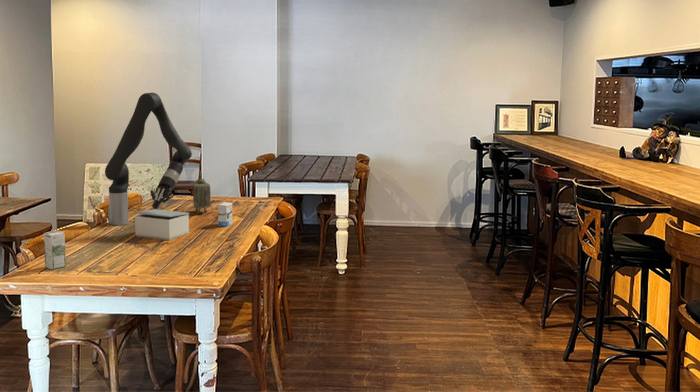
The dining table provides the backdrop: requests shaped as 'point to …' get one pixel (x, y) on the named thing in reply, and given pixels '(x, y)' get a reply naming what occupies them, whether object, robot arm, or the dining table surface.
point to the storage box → (161, 226)
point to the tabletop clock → (201, 194)
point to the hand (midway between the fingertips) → (154, 208)
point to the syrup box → (54, 249)
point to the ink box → (225, 214)
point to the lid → (161, 213)
